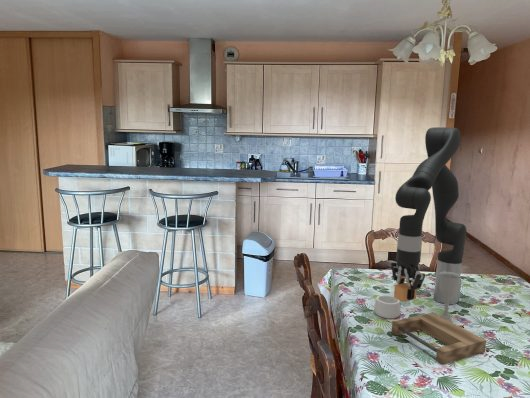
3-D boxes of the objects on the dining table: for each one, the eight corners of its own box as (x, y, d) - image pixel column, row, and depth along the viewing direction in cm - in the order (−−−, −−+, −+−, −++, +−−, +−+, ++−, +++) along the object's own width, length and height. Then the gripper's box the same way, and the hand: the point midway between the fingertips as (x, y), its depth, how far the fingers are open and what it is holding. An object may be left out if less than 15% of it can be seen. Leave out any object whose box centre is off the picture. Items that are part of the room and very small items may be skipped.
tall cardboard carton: (407, 294, 142) (408, 282, 141) (416, 299, 139) (417, 286, 138) (393, 297, 140) (394, 284, 139) (402, 302, 136) (403, 289, 135)
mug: (395, 321, 153) (396, 306, 152) (370, 314, 159) (371, 299, 158) (405, 310, 163) (406, 296, 162) (381, 304, 168) (382, 290, 167)
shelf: (431, 322, 153) (432, 312, 152) (484, 351, 133) (486, 340, 133) (391, 332, 145) (392, 321, 144) (442, 364, 125) (443, 352, 125)
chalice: (455, 318, 157) (459, 273, 154) (456, 326, 150) (461, 279, 147) (434, 315, 159) (438, 270, 156) (435, 323, 153) (439, 276, 150)
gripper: (434, 252, 131) (429, 303, 134) (403, 240, 144) (399, 287, 147) (416, 255, 128) (411, 307, 131) (385, 242, 141) (382, 290, 144)
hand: (405, 296), depth 139 cm, fingers closed on tall cardboard carton, 4 cm apart
